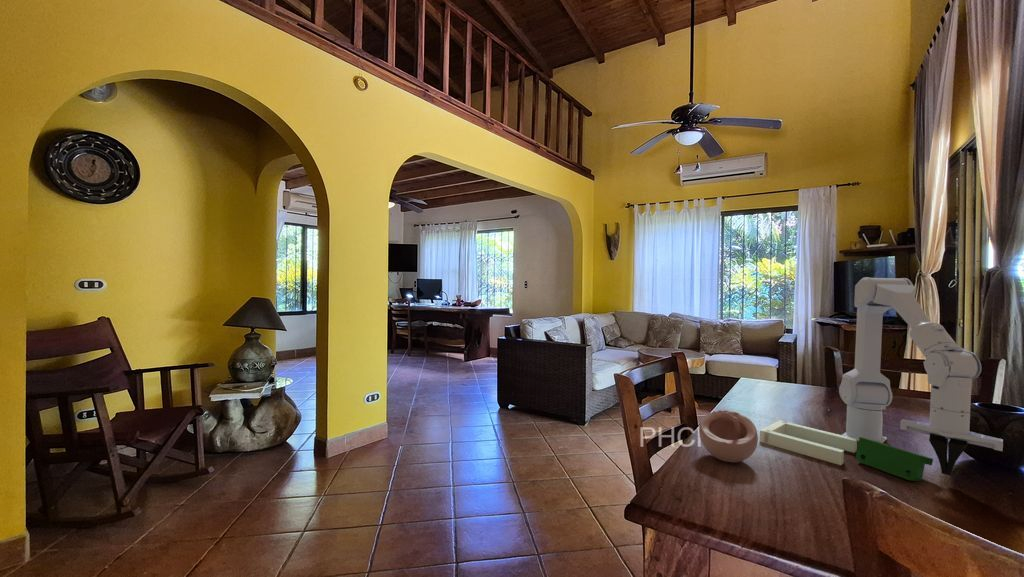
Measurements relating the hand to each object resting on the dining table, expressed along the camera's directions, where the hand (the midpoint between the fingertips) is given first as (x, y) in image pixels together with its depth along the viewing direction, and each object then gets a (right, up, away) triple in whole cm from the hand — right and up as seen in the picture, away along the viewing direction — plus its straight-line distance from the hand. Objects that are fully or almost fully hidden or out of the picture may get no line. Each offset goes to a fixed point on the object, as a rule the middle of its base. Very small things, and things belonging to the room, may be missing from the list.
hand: (946, 473), depth 86 cm
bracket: (-15, -2, +19) cm, 24 cm away
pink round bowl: (-41, -1, +9) cm, 42 cm away
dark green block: (-5, -3, +6) cm, 9 cm away
